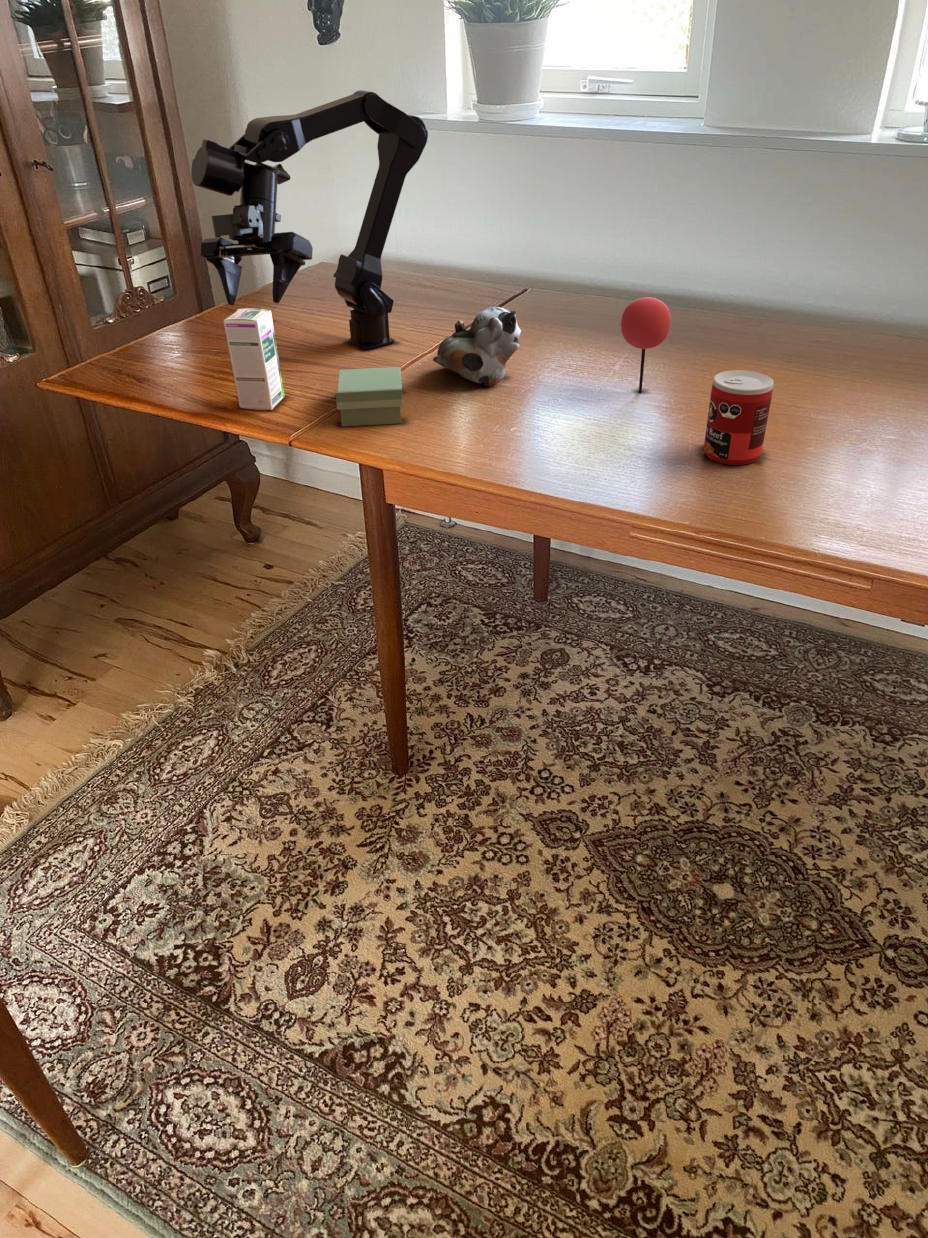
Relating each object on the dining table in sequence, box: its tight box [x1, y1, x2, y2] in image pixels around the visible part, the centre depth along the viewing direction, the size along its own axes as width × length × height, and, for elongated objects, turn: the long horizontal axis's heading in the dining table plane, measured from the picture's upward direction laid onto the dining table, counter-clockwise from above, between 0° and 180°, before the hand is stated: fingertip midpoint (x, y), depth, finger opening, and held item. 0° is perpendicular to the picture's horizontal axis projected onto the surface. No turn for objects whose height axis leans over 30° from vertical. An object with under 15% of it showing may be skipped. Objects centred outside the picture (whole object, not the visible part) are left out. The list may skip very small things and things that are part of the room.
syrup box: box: [223, 307, 285, 411], centre depth 146 cm, size 6×6×14 cm
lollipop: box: [620, 296, 672, 393], centre depth 147 cm, size 8×8×15 cm
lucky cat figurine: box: [432, 306, 522, 388], centre depth 155 cm, size 15×12×14 cm
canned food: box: [703, 369, 775, 466], centre depth 128 cm, size 8×8×11 cm
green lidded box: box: [335, 366, 404, 427], centre depth 146 cm, size 10×14×6 cm
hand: (253, 303), depth 150 cm, fingers open, 9 cm apart
